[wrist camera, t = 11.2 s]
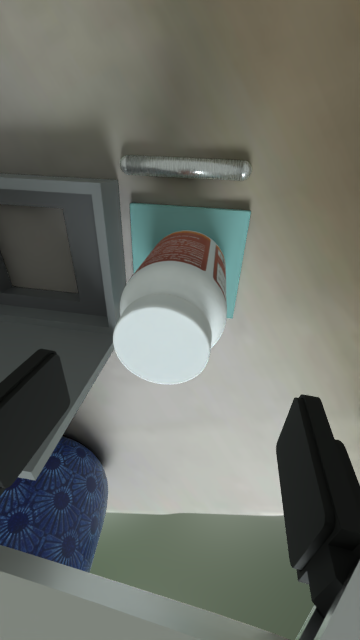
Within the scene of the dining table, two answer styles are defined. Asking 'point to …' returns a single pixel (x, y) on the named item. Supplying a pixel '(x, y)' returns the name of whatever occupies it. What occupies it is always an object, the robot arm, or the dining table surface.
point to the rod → (186, 167)
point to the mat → (213, 222)
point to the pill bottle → (173, 309)
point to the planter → (58, 508)
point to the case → (61, 307)
